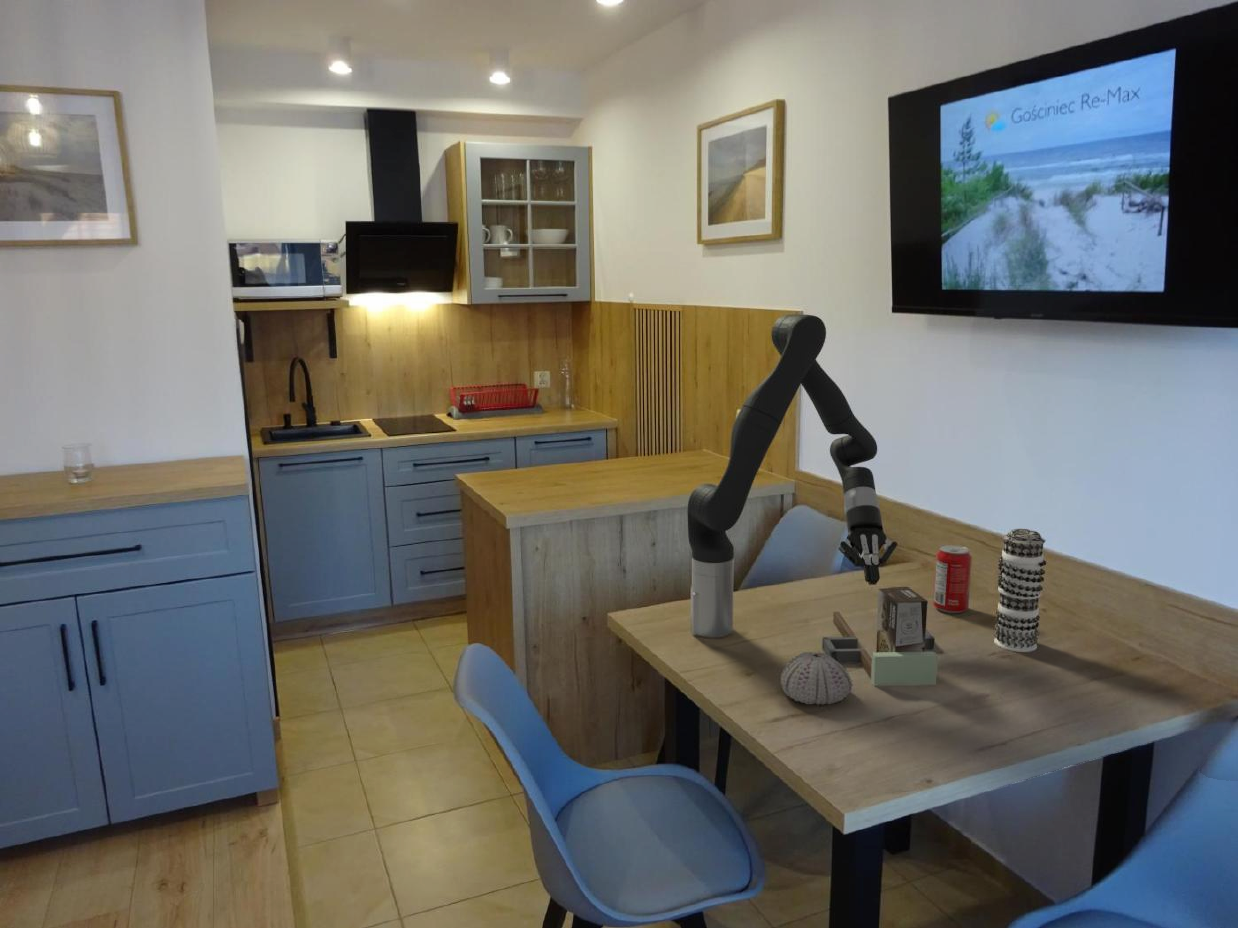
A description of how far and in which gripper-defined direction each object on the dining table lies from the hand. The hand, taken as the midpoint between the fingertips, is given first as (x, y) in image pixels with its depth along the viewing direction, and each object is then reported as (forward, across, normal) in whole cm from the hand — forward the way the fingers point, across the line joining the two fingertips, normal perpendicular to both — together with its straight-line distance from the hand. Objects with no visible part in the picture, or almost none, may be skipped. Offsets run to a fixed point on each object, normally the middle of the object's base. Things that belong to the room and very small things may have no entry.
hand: (873, 583), depth 188 cm
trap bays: (+13, +1, +6) cm, 14 cm away
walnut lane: (+13, +1, +6) cm, 14 cm away
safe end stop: (+23, +1, -6) cm, 24 cm away
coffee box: (+20, +2, -1) cm, 20 cm away
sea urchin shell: (+27, -17, -9) cm, 33 cm away
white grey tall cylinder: (+11, +31, +8) cm, 33 cm away
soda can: (-3, +24, +23) cm, 34 cm away
